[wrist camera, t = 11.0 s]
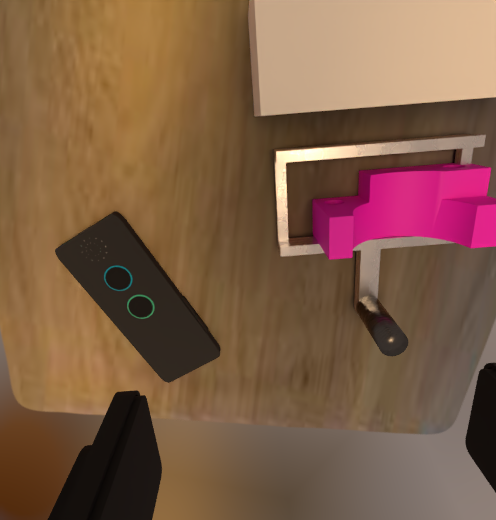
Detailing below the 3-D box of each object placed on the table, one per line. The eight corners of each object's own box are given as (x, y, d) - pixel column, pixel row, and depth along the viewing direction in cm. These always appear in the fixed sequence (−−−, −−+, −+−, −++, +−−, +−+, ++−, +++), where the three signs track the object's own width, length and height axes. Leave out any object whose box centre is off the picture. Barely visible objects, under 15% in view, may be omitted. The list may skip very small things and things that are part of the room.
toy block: (461, 161, 36) (515, 172, 29) (453, 222, 38) (501, 245, 31) (311, 174, 36) (329, 187, 29) (312, 233, 38) (329, 259, 31)
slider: (273, 149, 34) (284, 158, 26) (468, 133, 34) (538, 138, 26) (281, 316, 41) (291, 364, 33) (444, 303, 41) (494, 348, 33)
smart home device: (115, 211, 35) (223, 355, 42) (120, 207, 37) (223, 346, 43) (50, 252, 37) (164, 385, 43) (57, 246, 38) (167, 376, 45)
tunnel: (247, 15, 31) (252, -33, 21) (503, -6, 30) (629, -64, 21) (254, 116, 34) (260, 115, 24) (487, 97, 33) (590, 89, 24)
